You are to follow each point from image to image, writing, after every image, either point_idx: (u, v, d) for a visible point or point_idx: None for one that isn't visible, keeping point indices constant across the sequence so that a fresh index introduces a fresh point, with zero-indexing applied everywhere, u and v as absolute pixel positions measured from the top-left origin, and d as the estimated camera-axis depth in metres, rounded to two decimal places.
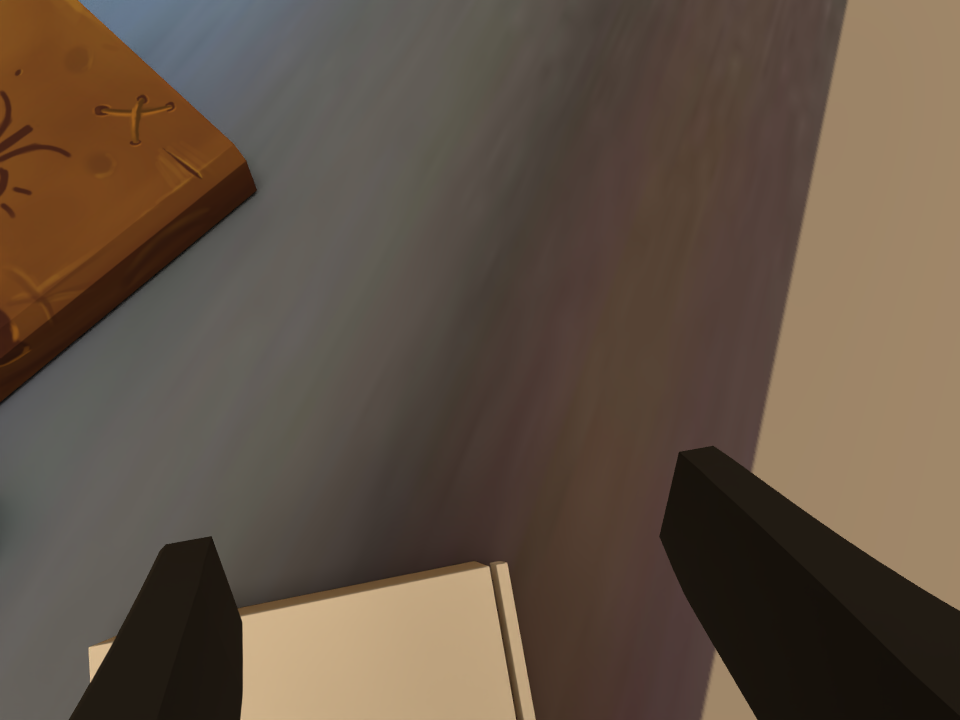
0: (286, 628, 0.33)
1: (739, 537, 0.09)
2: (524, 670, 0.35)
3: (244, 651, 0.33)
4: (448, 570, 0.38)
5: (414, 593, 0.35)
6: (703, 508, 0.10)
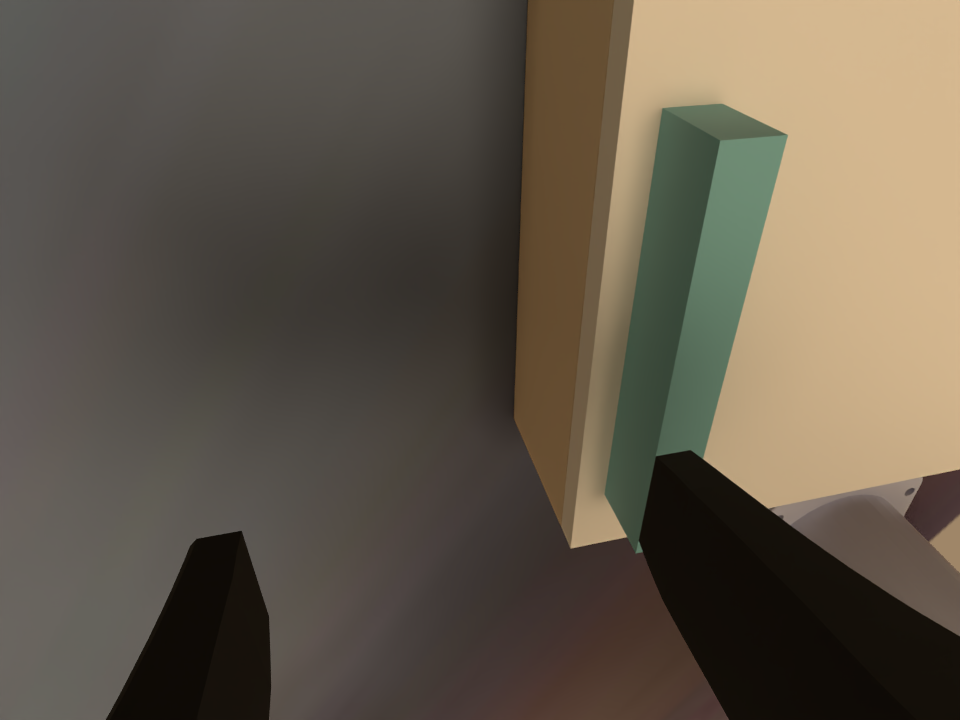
0: None
1: (713, 543, 0.09)
2: None
3: None
4: None
5: None
6: (679, 513, 0.10)
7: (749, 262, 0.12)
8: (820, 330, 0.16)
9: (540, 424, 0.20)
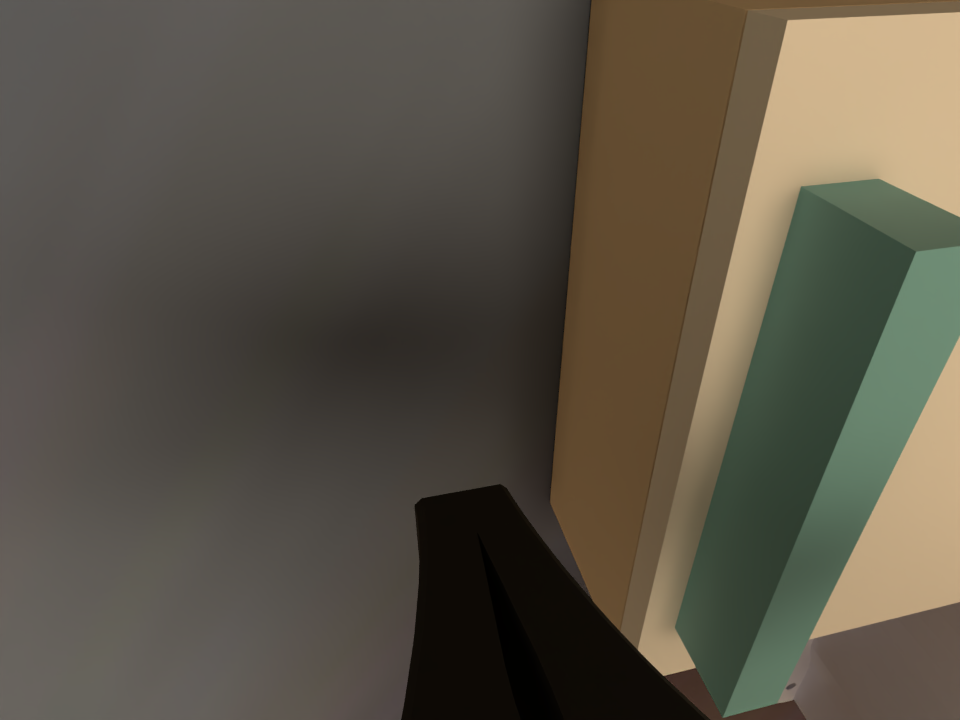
0: None
1: (493, 589, 0.08)
2: None
3: None
4: None
5: None
6: None
7: (922, 399, 0.09)
8: (953, 439, 0.13)
9: (589, 526, 0.17)
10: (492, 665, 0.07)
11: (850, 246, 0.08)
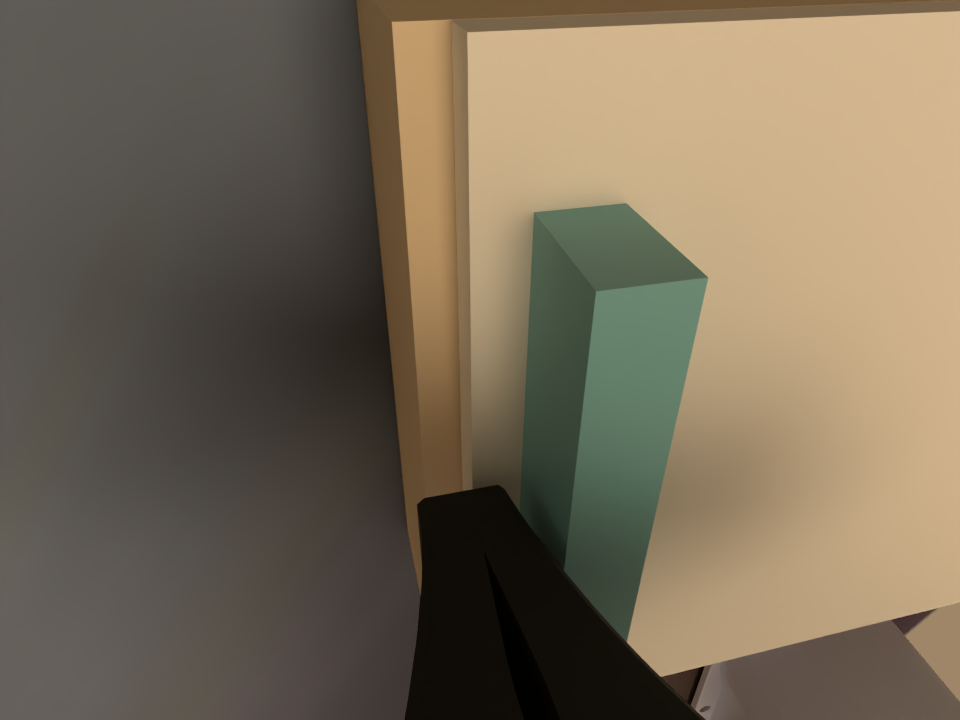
0: None
1: None
2: None
3: None
4: None
5: None
6: None
7: (662, 445, 0.08)
8: (787, 472, 0.12)
9: (418, 559, 0.16)
10: (495, 664, 0.07)
11: (563, 280, 0.07)
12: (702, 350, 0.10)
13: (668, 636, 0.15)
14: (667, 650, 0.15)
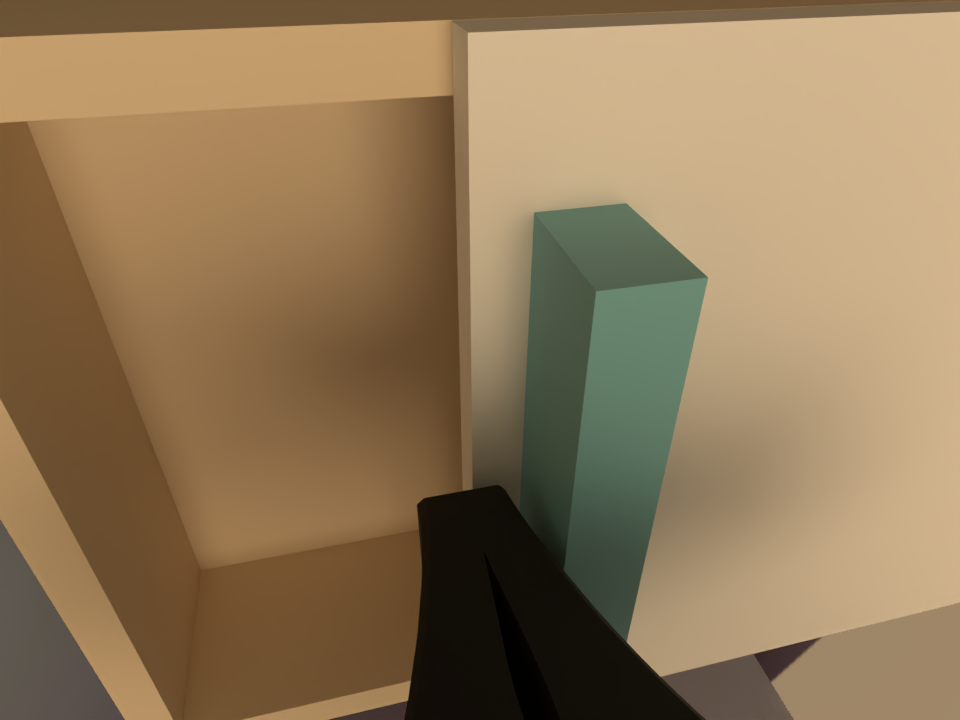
0: None
1: None
2: None
3: None
4: None
5: None
6: None
7: (661, 445, 0.08)
8: (786, 471, 0.12)
9: None
10: (494, 664, 0.07)
11: (563, 280, 0.07)
12: (702, 350, 0.10)
13: (668, 636, 0.15)
14: (667, 650, 0.15)
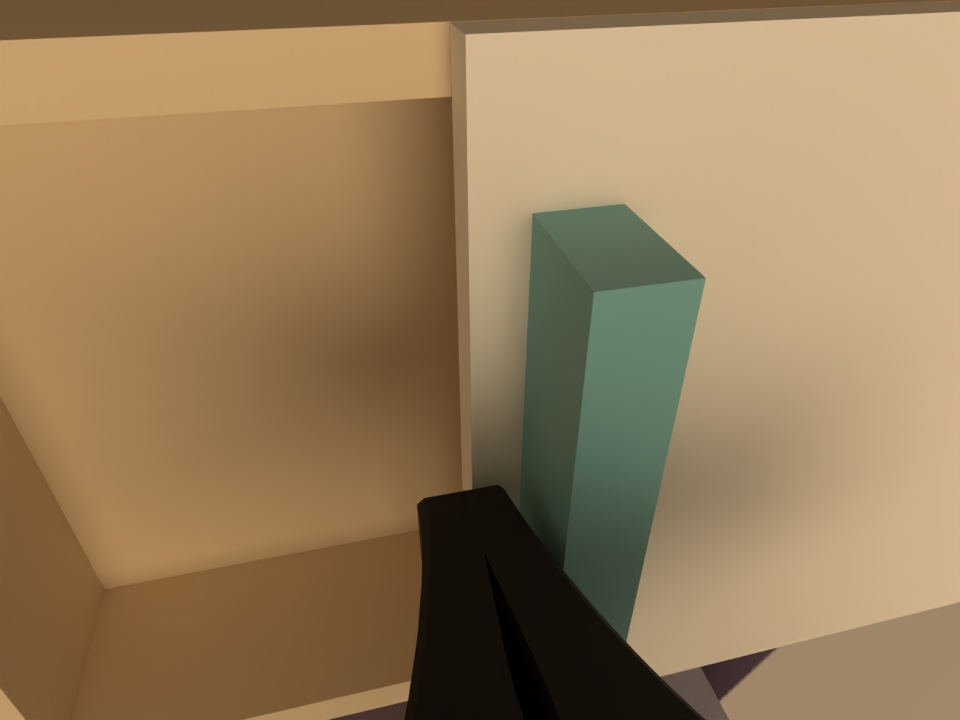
0: None
1: None
2: None
3: None
4: None
5: None
6: None
7: (660, 445, 0.08)
8: (786, 471, 0.12)
9: None
10: (495, 664, 0.07)
11: (561, 281, 0.07)
12: (701, 350, 0.10)
13: (669, 636, 0.15)
14: (667, 650, 0.15)
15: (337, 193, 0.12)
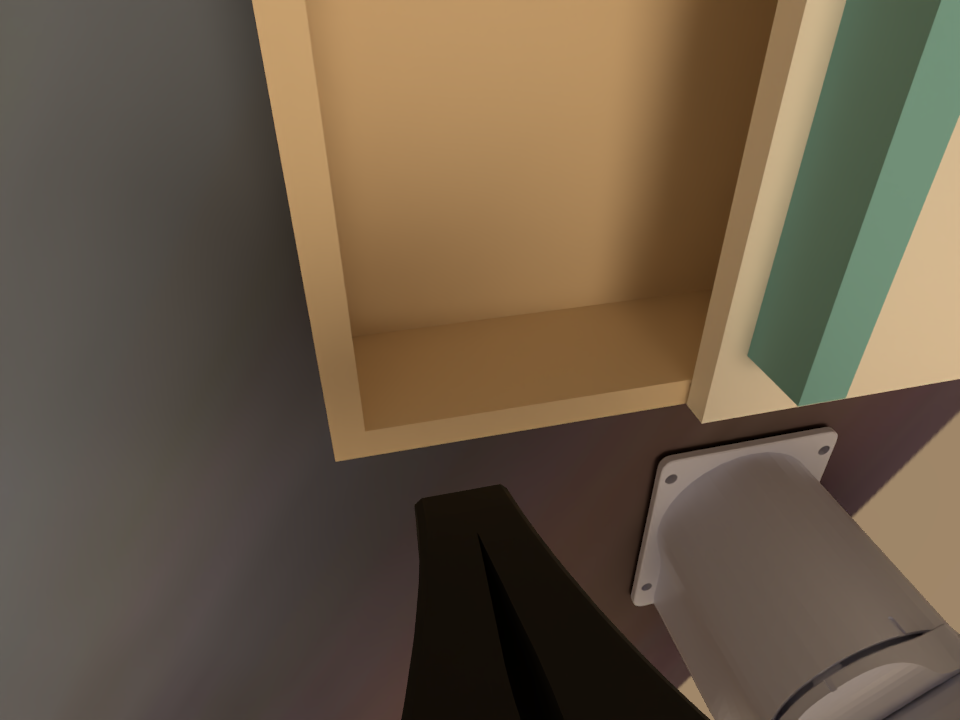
0: None
1: (493, 589, 0.08)
2: None
3: None
4: None
5: None
6: None
7: None
8: None
9: None
10: (492, 665, 0.07)
11: None
12: None
13: (871, 346, 0.17)
14: (866, 363, 0.17)
15: None
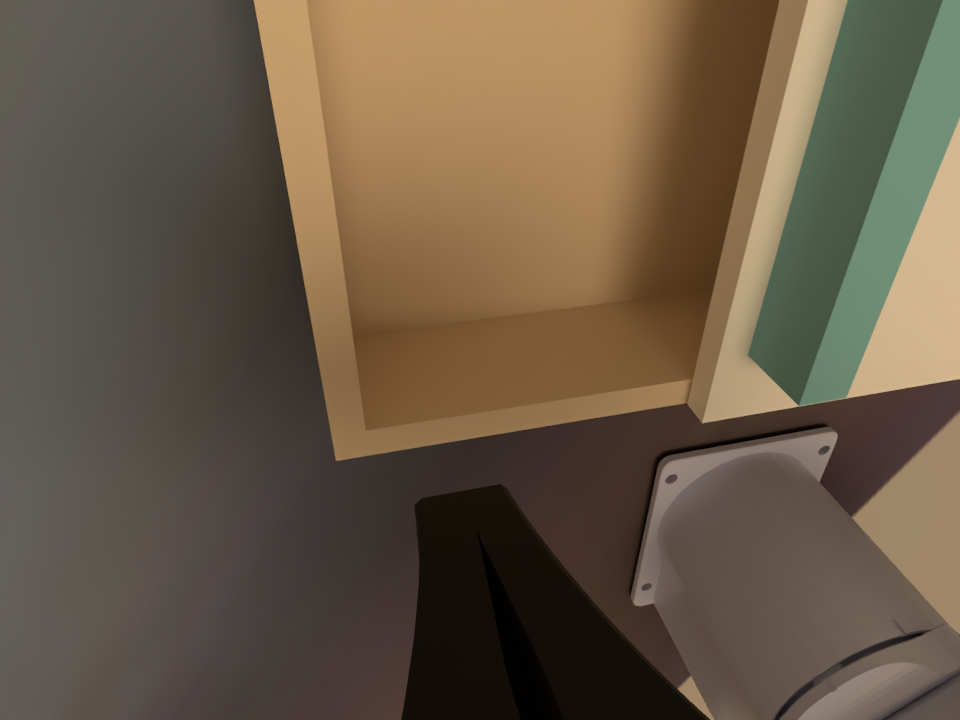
0: None
1: (493, 589, 0.08)
2: None
3: None
4: None
5: None
6: None
7: None
8: None
9: None
10: (492, 665, 0.07)
11: None
12: None
13: (871, 345, 0.17)
14: (866, 363, 0.17)
15: None
